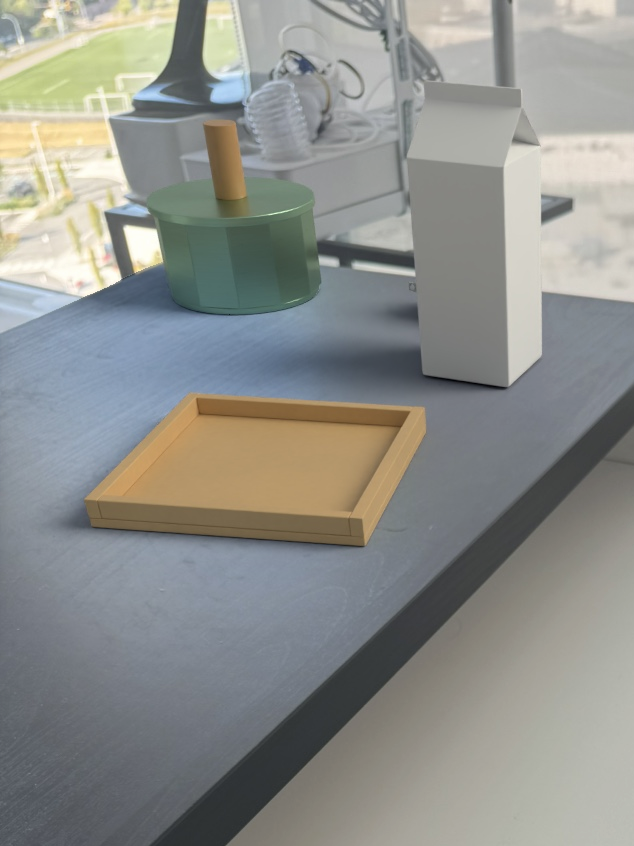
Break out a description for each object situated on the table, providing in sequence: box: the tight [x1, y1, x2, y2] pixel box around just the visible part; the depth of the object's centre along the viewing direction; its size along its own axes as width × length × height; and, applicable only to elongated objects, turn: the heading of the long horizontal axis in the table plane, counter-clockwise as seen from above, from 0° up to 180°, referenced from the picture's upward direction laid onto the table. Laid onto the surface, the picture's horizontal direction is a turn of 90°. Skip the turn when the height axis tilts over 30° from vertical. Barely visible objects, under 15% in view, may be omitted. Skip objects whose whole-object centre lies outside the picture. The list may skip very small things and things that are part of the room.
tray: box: [83, 392, 427, 547], centre depth 74 cm, size 17×17×2 cm
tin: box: [153, 207, 322, 316], centre depth 101 cm, size 13×13×7 cm
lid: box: [145, 119, 316, 227], centre depth 97 cm, size 14×14×7 cm
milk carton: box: [406, 79, 543, 388], centre depth 84 cm, size 7×7×19 cm
